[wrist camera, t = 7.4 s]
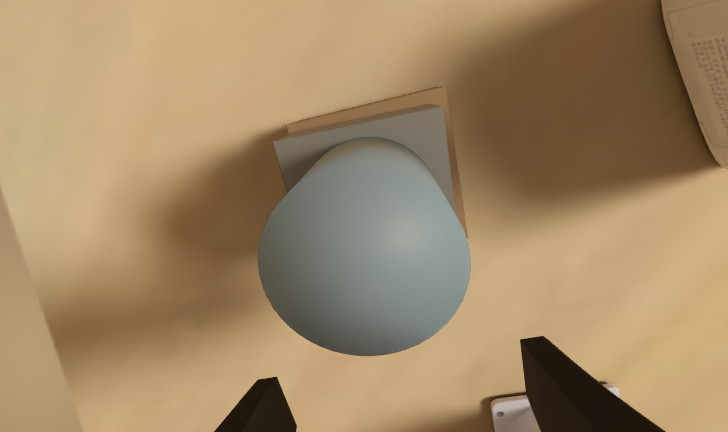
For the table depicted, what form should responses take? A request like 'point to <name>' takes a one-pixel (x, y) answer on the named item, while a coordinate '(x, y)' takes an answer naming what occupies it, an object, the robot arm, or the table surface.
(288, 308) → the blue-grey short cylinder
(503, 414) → the robot arm
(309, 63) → the table surface
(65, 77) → the table surface
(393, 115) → the block
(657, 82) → the table surface
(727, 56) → the cream book
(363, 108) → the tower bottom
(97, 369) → the table surface
